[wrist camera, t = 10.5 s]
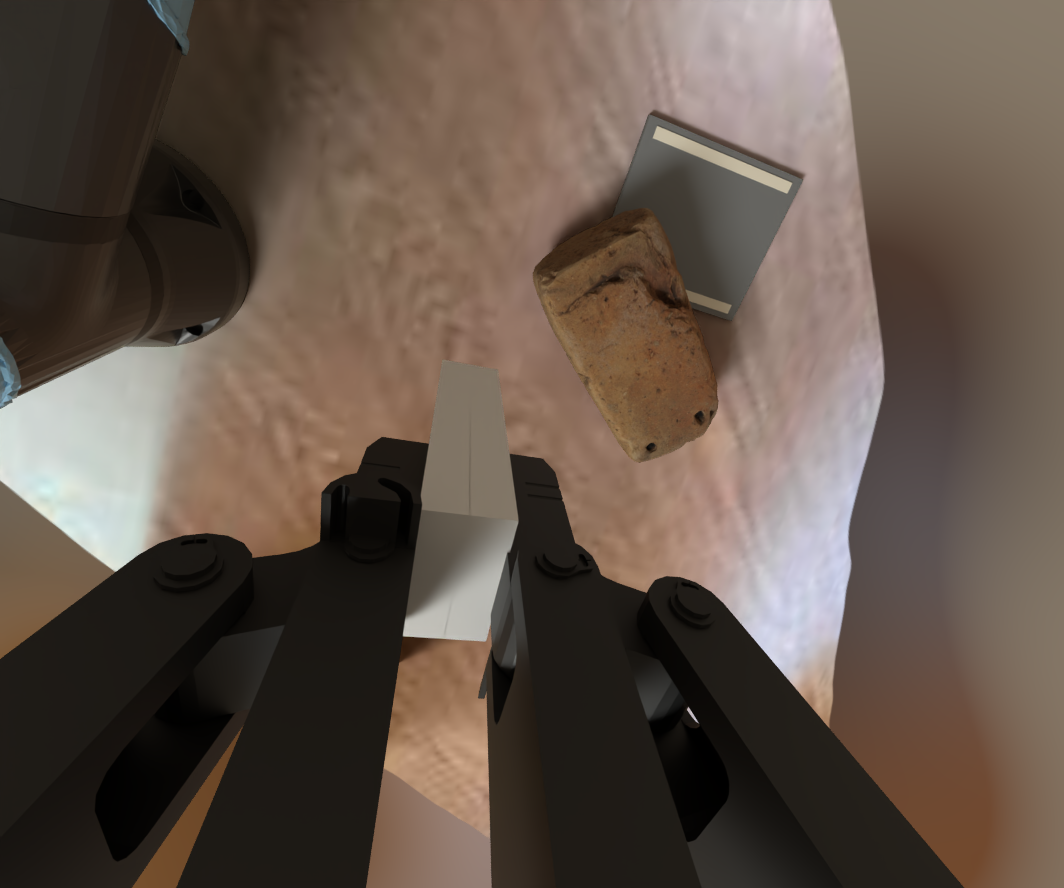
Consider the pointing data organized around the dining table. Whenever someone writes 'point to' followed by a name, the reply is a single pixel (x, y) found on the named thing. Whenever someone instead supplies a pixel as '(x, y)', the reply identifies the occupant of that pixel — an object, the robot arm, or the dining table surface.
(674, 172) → the mat
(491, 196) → the dining table surface
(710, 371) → the brown lumpy pitted part
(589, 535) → the dining table surface
